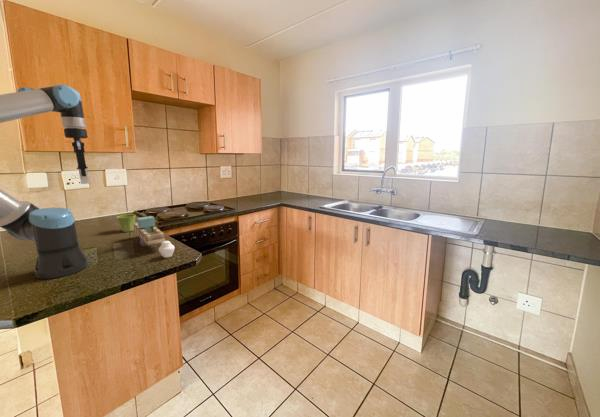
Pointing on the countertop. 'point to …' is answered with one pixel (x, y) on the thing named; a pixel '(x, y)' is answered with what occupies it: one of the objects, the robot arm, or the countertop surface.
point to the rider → (146, 223)
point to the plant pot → (126, 222)
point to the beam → (149, 235)
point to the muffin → (166, 249)
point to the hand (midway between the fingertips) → (85, 183)
